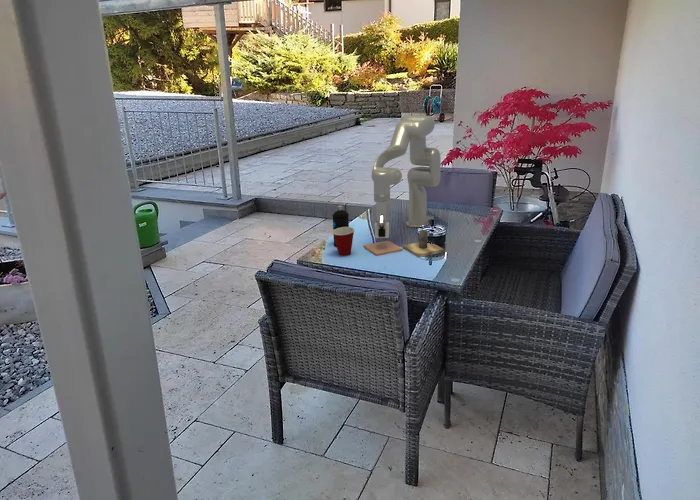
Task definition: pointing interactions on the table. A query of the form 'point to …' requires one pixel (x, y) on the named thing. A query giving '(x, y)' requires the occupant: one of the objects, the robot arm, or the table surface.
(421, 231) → the post stand
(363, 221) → the table surface
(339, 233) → the plastic cup
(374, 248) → the tile
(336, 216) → the aerosol can
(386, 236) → the cream rectangular prism
